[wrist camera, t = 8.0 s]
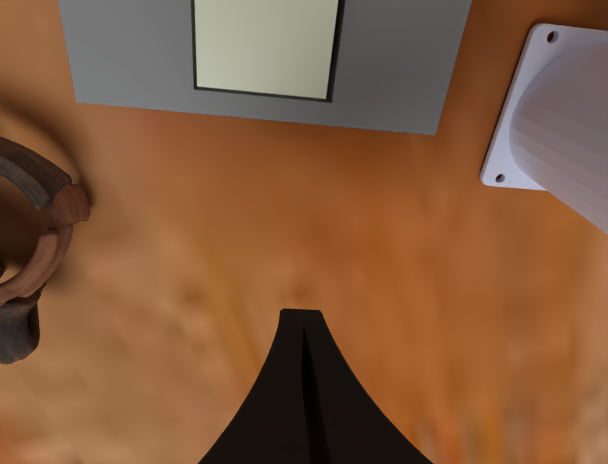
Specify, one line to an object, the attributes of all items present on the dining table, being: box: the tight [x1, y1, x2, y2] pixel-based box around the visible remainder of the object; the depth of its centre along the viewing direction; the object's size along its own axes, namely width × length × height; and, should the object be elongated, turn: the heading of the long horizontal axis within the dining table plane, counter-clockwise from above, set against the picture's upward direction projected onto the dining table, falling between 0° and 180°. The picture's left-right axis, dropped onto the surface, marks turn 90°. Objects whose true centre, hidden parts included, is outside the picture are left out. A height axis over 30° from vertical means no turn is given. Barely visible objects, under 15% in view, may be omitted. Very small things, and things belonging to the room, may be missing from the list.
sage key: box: [195, 0, 338, 99], centre depth 16 cm, size 5×5×4 cm
